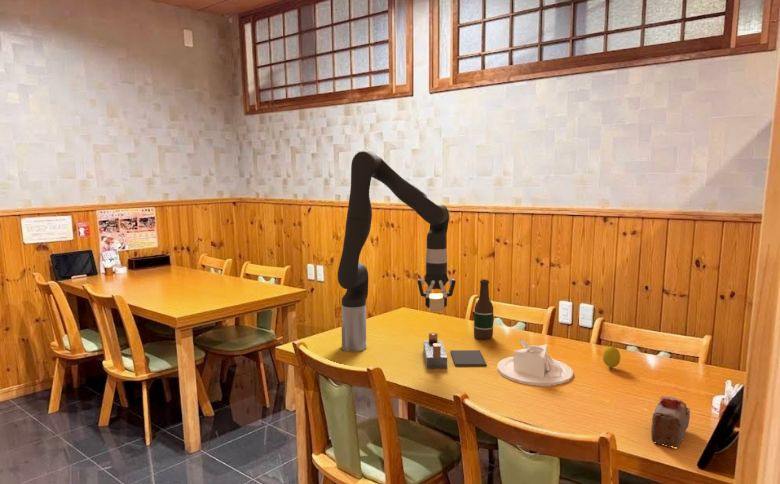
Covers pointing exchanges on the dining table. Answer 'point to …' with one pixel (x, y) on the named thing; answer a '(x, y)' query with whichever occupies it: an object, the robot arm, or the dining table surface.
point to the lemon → (611, 357)
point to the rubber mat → (467, 358)
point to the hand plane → (435, 353)
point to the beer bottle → (483, 314)
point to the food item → (670, 421)
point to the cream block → (436, 303)
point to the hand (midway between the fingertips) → (436, 307)
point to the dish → (534, 367)
